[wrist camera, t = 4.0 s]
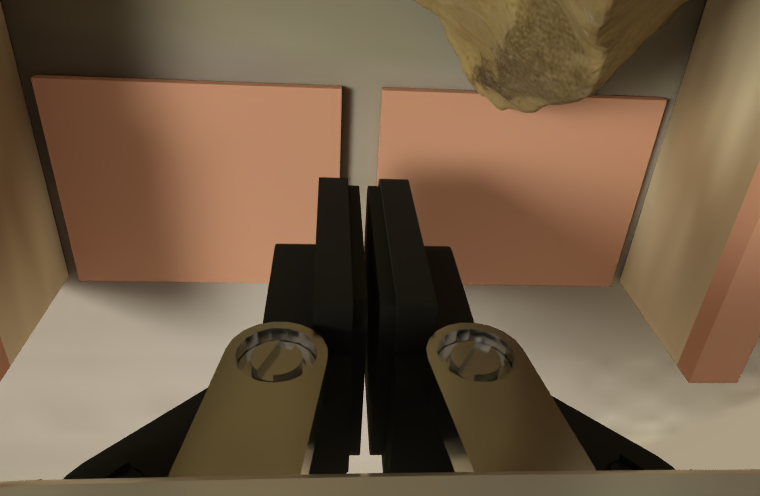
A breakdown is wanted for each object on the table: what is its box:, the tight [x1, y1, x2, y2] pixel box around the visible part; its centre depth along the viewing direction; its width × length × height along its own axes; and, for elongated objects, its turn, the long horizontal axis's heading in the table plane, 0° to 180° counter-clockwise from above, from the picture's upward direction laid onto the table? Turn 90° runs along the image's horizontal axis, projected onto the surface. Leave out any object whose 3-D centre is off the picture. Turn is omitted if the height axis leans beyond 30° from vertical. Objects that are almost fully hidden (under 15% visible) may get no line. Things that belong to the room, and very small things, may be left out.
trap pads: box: [0, 75, 760, 383], centre depth 12 cm, size 5×15×4 cm, turn 87°
